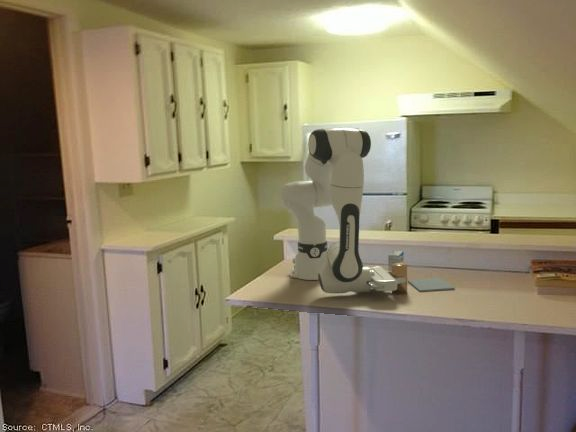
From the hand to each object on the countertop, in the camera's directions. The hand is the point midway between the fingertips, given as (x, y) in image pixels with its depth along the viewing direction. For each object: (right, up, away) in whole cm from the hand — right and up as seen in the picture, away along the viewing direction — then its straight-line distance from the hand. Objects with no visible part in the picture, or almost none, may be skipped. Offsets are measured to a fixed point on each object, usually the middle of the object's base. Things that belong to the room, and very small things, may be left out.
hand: (401, 276), depth 187 cm
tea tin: (-1, -6, +1) cm, 6 cm away
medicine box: (+3, -2, +24) cm, 24 cm away
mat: (+12, -4, +7) cm, 15 cm away
